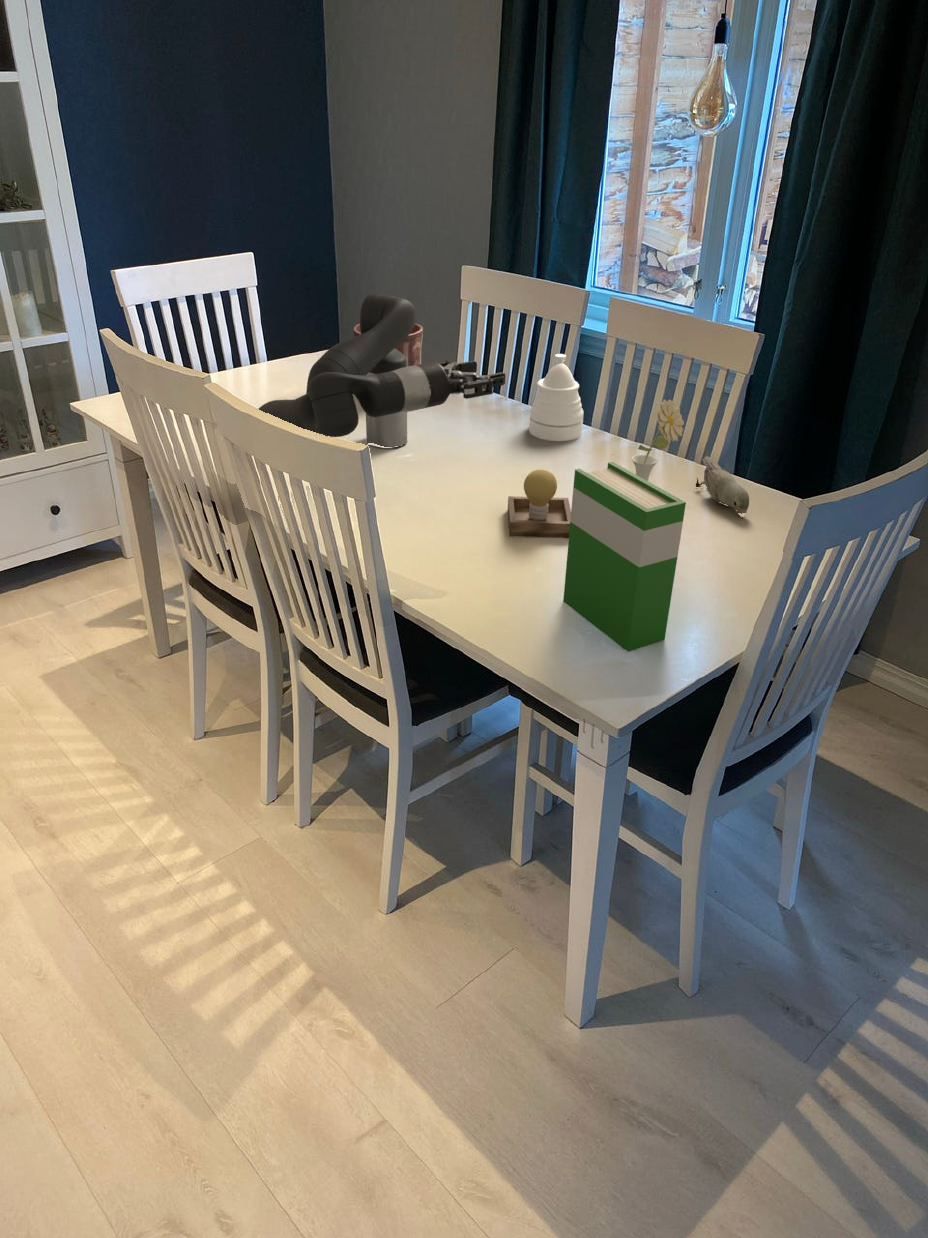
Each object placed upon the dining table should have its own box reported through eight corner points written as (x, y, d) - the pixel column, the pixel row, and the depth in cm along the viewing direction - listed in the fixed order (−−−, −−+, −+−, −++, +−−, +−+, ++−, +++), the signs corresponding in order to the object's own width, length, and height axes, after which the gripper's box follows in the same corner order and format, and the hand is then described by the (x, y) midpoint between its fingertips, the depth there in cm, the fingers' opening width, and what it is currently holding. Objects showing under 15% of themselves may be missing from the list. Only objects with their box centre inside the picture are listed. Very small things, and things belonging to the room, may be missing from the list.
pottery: (420, 408, 246) (421, 337, 237) (352, 406, 246) (349, 335, 237) (424, 387, 261) (424, 319, 252) (359, 385, 261) (357, 317, 252)
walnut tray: (509, 536, 185) (510, 522, 183) (507, 509, 195) (508, 496, 194) (572, 538, 185) (573, 523, 183) (567, 511, 195) (568, 497, 194)
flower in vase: (629, 542, 184) (645, 415, 171) (596, 518, 193) (608, 396, 180) (684, 529, 189) (703, 405, 176) (649, 507, 198) (665, 387, 185)
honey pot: (528, 421, 240) (532, 349, 231) (580, 423, 240) (586, 350, 231) (529, 440, 229) (534, 364, 220) (583, 442, 229) (590, 366, 220)
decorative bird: (731, 521, 194) (738, 486, 190) (689, 490, 206) (694, 457, 203) (754, 517, 195) (761, 483, 191) (711, 487, 208) (716, 454, 204)
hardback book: (563, 601, 164) (574, 469, 152) (598, 591, 167) (612, 461, 155) (627, 651, 151) (646, 512, 139) (664, 640, 154) (686, 502, 142)
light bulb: (559, 515, 191) (562, 468, 186) (547, 528, 186) (551, 479, 181) (528, 509, 193) (531, 462, 188) (516, 521, 188) (519, 473, 183)
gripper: (394, 397, 176) (466, 382, 184) (439, 419, 166) (513, 402, 174) (393, 356, 172) (467, 342, 180) (439, 376, 162) (515, 361, 170)
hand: (489, 372), depth 177 cm, fingers open, 8 cm apart
